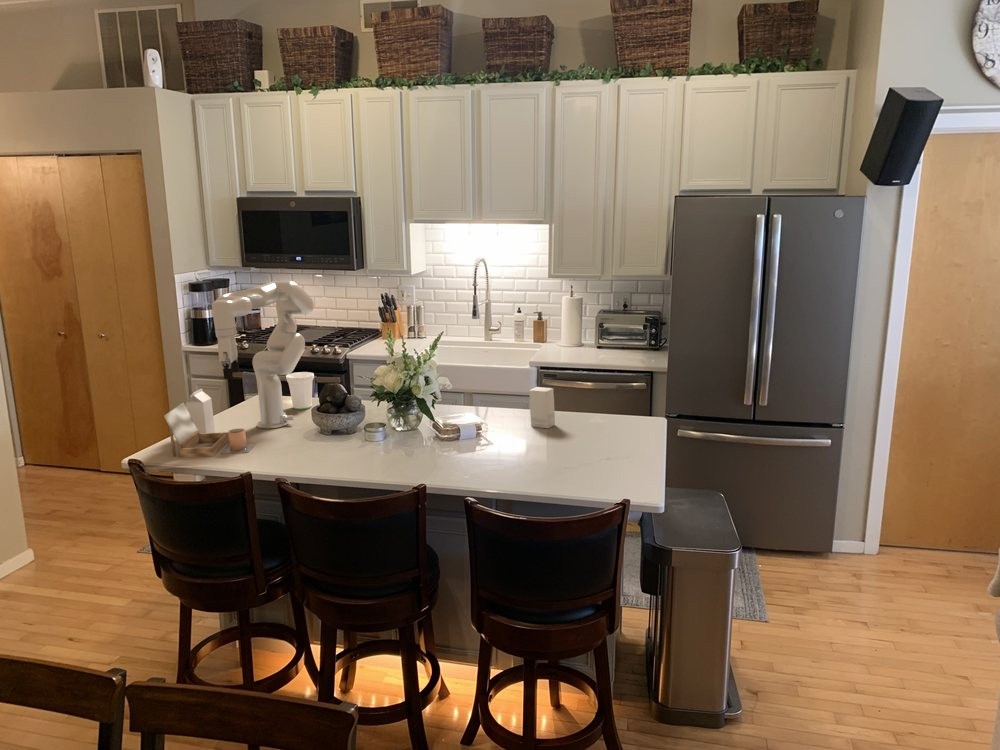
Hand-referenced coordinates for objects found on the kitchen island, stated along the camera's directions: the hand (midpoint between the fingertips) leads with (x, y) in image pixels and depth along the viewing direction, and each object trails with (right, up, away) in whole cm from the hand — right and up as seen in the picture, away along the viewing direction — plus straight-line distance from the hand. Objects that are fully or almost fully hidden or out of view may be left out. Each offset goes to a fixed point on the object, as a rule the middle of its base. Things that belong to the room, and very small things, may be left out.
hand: (231, 375), depth 293 cm
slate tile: (+5, -28, -7) cm, 30 cm away
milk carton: (-16, -25, +12) cm, 32 cm away
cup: (+13, -15, +54) cm, 57 cm away
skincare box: (+121, -21, +15) cm, 124 cm away
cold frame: (-10, -28, -5) cm, 30 cm away
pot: (+5, -28, -7) cm, 29 cm away
